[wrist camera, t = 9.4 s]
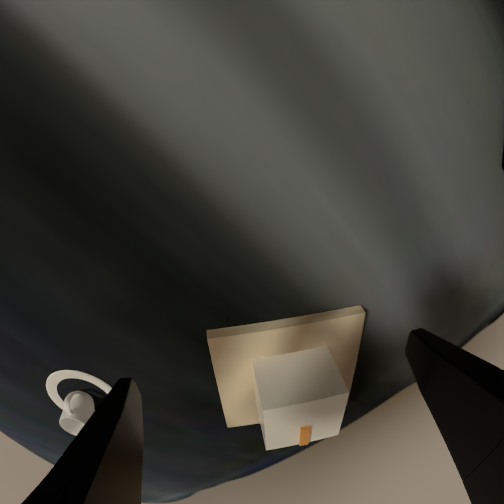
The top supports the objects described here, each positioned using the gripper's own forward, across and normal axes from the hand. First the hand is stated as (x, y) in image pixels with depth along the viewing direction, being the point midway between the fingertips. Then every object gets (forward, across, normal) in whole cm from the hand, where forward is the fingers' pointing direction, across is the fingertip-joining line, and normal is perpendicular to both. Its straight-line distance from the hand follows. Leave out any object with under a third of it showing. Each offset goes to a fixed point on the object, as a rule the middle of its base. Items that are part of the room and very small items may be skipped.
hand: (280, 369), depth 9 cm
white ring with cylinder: (+13, +19, +17) cm, 28 cm away
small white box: (+11, -3, +14) cm, 18 cm away
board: (+12, -3, +14) cm, 19 cm away
